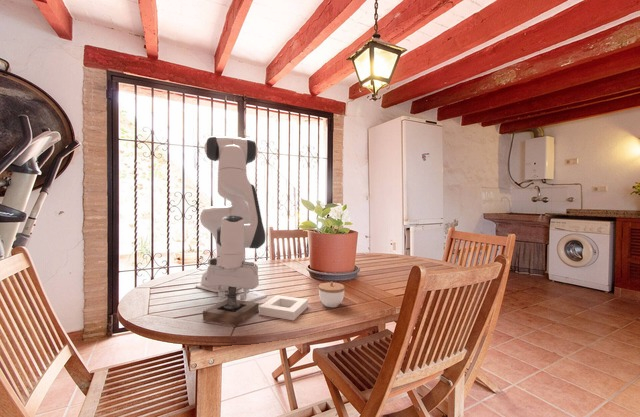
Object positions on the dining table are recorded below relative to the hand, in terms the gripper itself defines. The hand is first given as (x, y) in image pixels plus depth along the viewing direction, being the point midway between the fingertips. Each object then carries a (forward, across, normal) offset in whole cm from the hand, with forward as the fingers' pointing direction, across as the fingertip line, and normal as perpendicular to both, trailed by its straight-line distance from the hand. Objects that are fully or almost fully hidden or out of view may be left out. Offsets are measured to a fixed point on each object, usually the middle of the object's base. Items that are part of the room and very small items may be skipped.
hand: (232, 298), depth 106 cm
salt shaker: (+7, 0, 0) cm, 7 cm away
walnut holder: (+6, 0, 0) cm, 6 cm away
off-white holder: (+6, -16, -11) cm, 20 cm away
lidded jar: (+7, -31, -24) cm, 40 cm away
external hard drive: (+7, +4, -18) cm, 20 cm away
